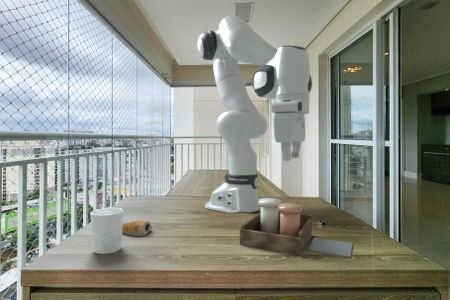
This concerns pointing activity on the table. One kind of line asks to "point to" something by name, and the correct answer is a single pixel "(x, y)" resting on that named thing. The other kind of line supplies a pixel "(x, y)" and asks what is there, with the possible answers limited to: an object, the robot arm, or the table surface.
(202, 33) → the robot arm
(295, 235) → the peach mushroom knob
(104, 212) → the white cup
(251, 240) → the wooden tray
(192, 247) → the table surface
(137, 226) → the pastry
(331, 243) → the slate tile
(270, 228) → the white glossy domed part
